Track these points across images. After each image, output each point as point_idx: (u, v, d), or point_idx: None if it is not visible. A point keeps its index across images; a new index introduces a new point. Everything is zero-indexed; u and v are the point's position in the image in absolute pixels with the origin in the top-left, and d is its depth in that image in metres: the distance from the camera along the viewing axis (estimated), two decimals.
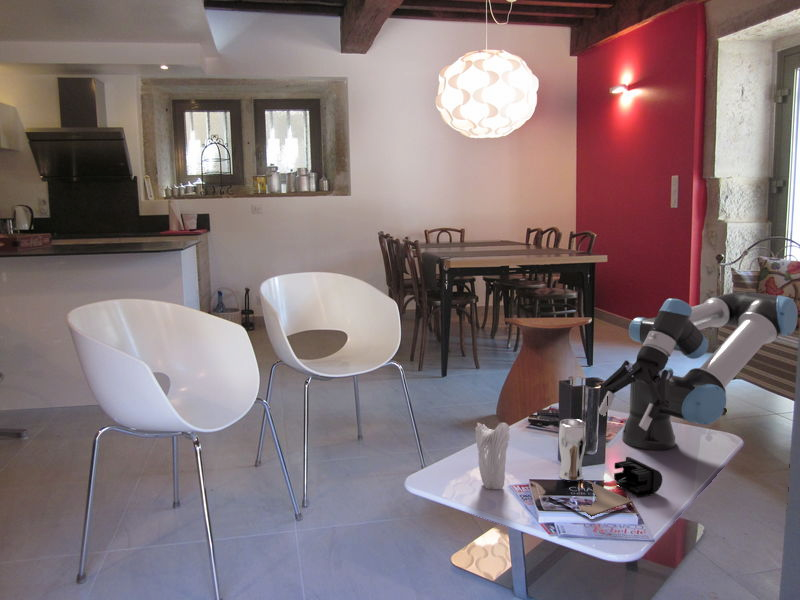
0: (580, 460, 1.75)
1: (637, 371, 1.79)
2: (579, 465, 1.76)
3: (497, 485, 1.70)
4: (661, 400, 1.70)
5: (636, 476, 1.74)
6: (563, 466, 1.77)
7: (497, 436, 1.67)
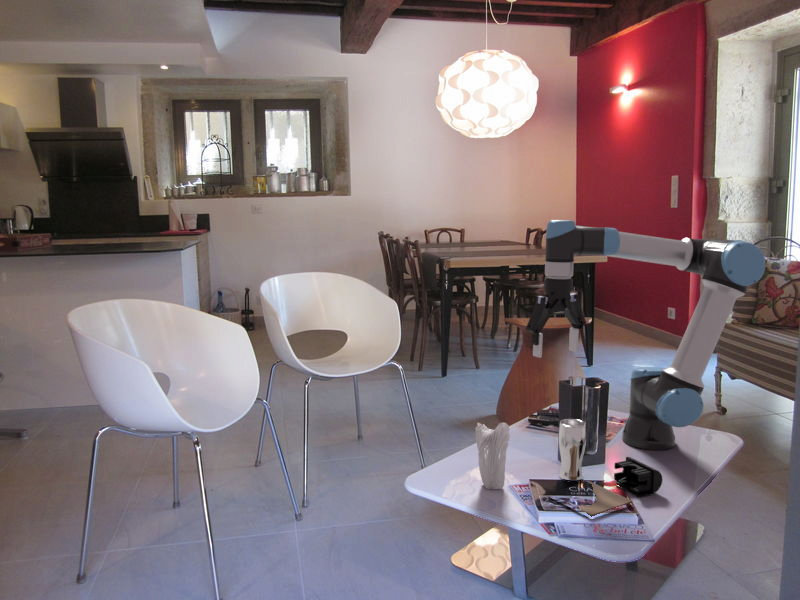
0: (580, 460, 1.75)
1: None
2: (579, 465, 1.76)
3: (497, 485, 1.70)
4: None
5: (636, 476, 1.74)
6: (563, 466, 1.77)
7: (497, 436, 1.67)
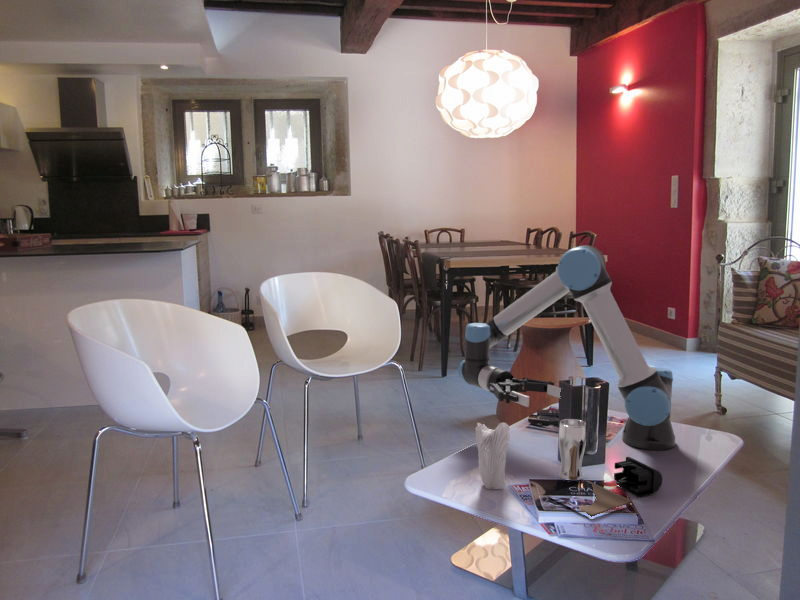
0: (580, 460, 1.75)
1: (515, 390, 1.96)
2: (579, 465, 1.76)
3: (497, 485, 1.70)
4: None
5: (636, 476, 1.74)
6: (563, 466, 1.77)
7: (497, 436, 1.67)
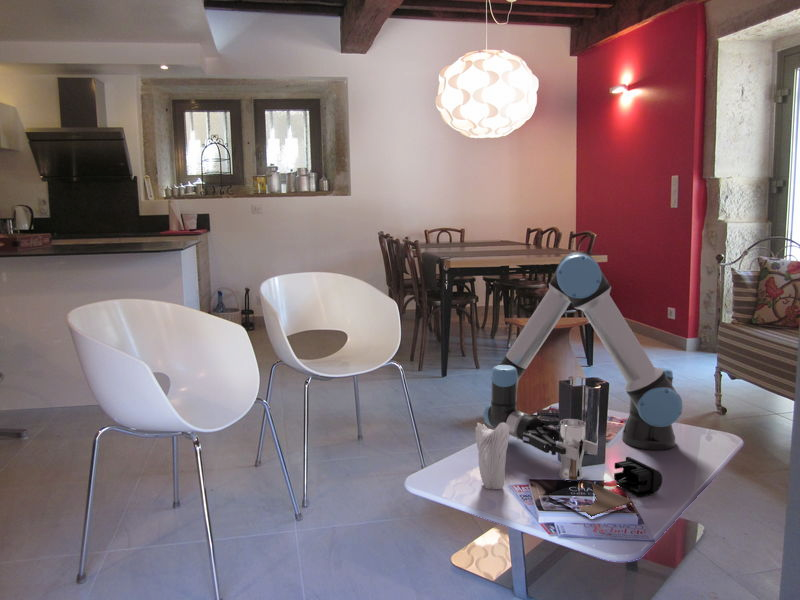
0: (580, 460, 1.75)
1: None
2: (579, 465, 1.76)
3: (497, 485, 1.70)
4: None
5: (636, 476, 1.74)
6: (563, 466, 1.77)
7: (497, 436, 1.67)
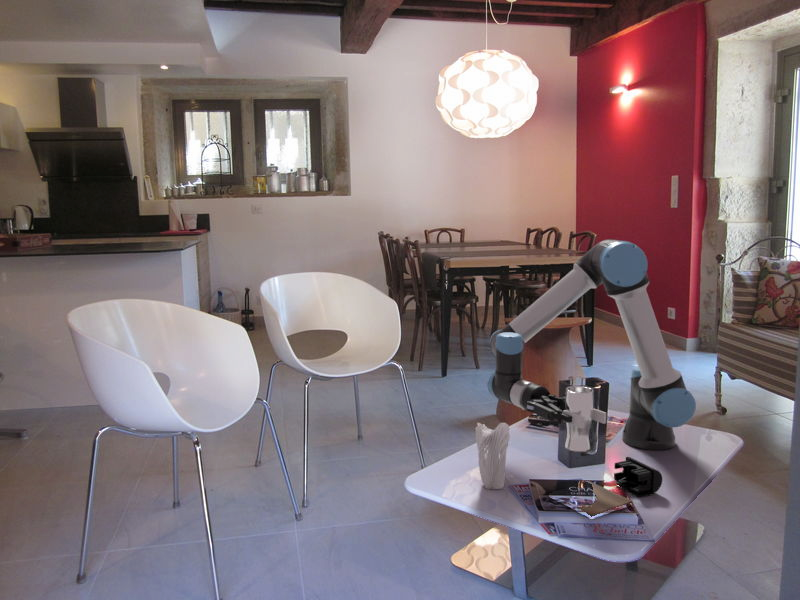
0: (587, 429, 1.65)
1: None
2: (586, 434, 1.65)
3: (497, 485, 1.70)
4: None
5: (636, 476, 1.74)
6: (569, 435, 1.66)
7: (497, 436, 1.67)
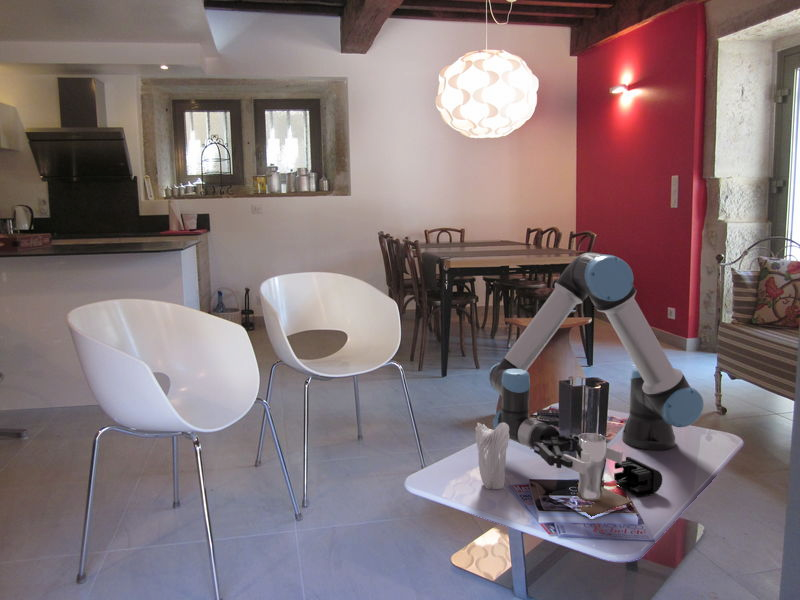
0: (600, 478, 1.61)
1: None
2: (599, 484, 1.61)
3: (497, 485, 1.70)
4: None
5: (636, 476, 1.74)
6: (581, 485, 1.62)
7: (497, 436, 1.67)
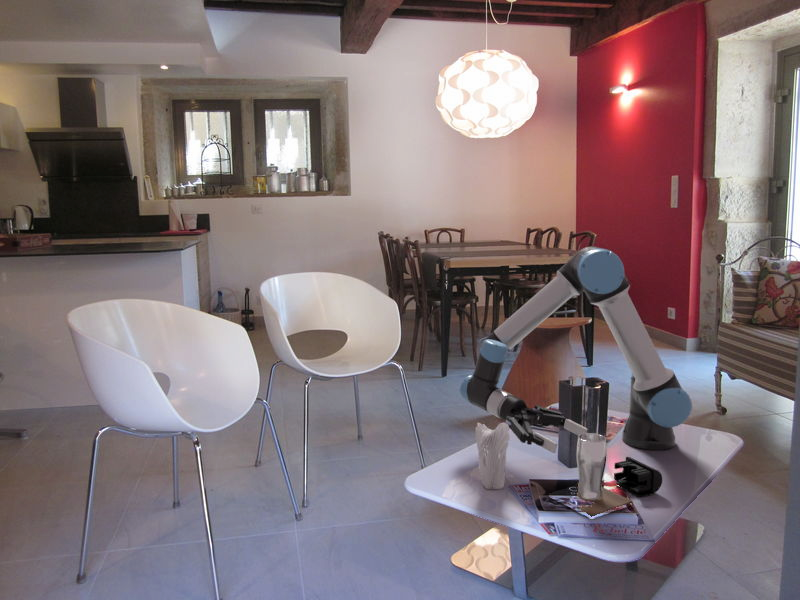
0: (600, 478, 1.61)
1: None
2: (599, 484, 1.61)
3: (497, 485, 1.70)
4: None
5: (636, 476, 1.74)
6: (581, 485, 1.62)
7: (497, 436, 1.67)
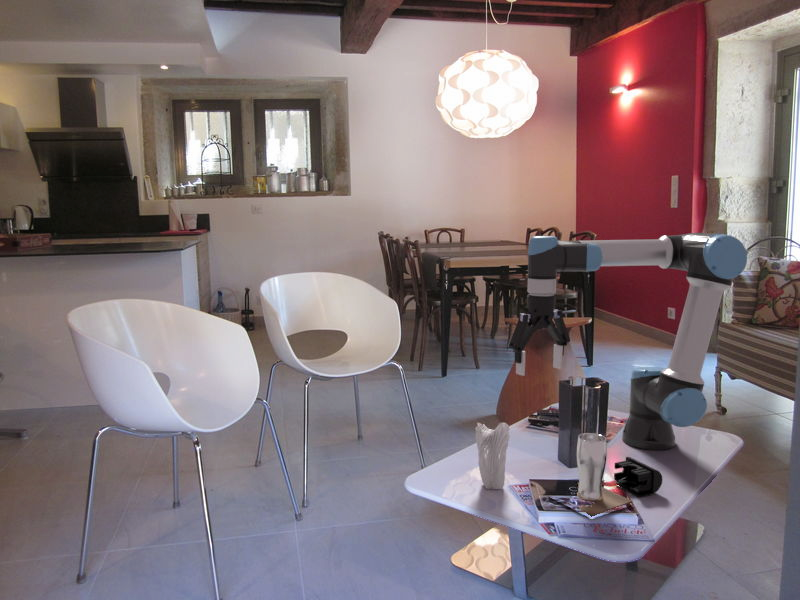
0: (600, 478, 1.61)
1: None
2: (599, 484, 1.61)
3: (497, 485, 1.70)
4: None
5: (636, 476, 1.74)
6: (581, 485, 1.62)
7: (497, 436, 1.67)
